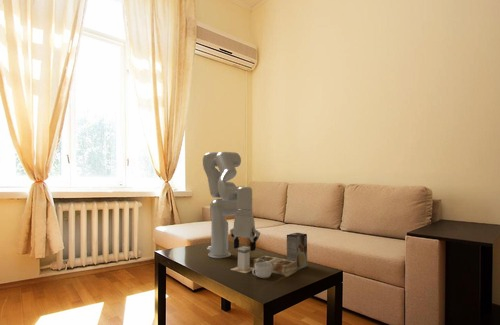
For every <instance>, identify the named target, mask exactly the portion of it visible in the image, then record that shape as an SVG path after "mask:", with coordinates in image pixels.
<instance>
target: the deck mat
mask: <svg viewBox="0 0 500 325" xmlns="http://www.w3.org/2000/svg"><path fill="white" fill-rule="evenodd" d="M253 269H255V268H254V266H253V267H252V266H249V269H248V270H245V271H243V270H239V269H238V266H235V267H234V268H230V270H231V271H233V272H234V271H235V272H238V273H243V274H247V273H250V272H252V271H253Z"/></svg>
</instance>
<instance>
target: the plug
mask: <svg viewBox="0 0 500 325" xmlns="http://www.w3.org/2000/svg"><path fill="white" fill-rule="evenodd" d="M250 252H251V250H250V246H243V245H242V246H239V248H237V267H238V269H239V270H243V271H245V270H248V269H249V267H251V266H250V265H251V264H250V258H251V257H250V256H251V255H250Z"/></svg>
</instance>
